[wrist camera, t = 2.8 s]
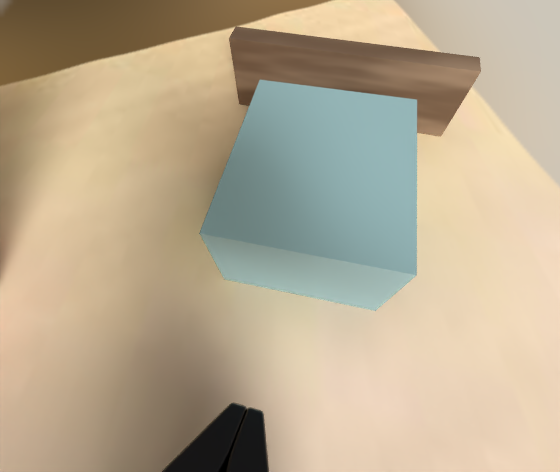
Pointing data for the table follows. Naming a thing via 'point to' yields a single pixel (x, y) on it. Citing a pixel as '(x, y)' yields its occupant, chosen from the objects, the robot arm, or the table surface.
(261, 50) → the board
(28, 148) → the table surface
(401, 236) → the block
